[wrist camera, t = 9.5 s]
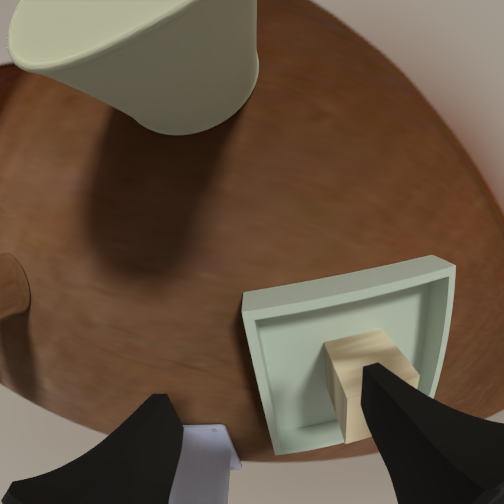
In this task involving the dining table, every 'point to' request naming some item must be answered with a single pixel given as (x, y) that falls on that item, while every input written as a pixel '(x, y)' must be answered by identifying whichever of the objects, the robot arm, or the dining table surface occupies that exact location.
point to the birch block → (360, 375)
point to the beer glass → (12, 288)
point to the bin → (339, 326)
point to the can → (145, 55)
